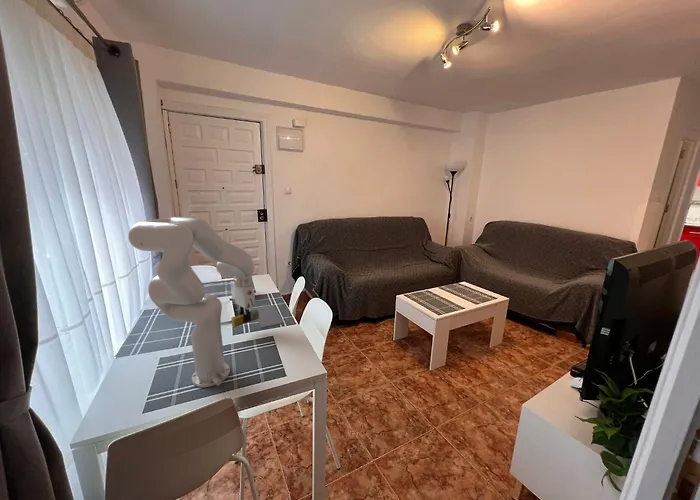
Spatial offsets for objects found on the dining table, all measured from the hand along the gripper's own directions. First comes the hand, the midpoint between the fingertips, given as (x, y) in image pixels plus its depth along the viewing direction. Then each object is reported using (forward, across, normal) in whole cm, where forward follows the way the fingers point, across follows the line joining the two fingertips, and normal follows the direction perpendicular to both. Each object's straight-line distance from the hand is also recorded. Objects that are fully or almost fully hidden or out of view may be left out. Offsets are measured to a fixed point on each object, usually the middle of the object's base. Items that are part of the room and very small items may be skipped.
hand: (245, 320), depth 126 cm
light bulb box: (+7, +40, -19) cm, 45 cm away
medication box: (+1, 0, 0) cm, 1 cm away
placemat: (+7, +10, -18) cm, 22 cm away
